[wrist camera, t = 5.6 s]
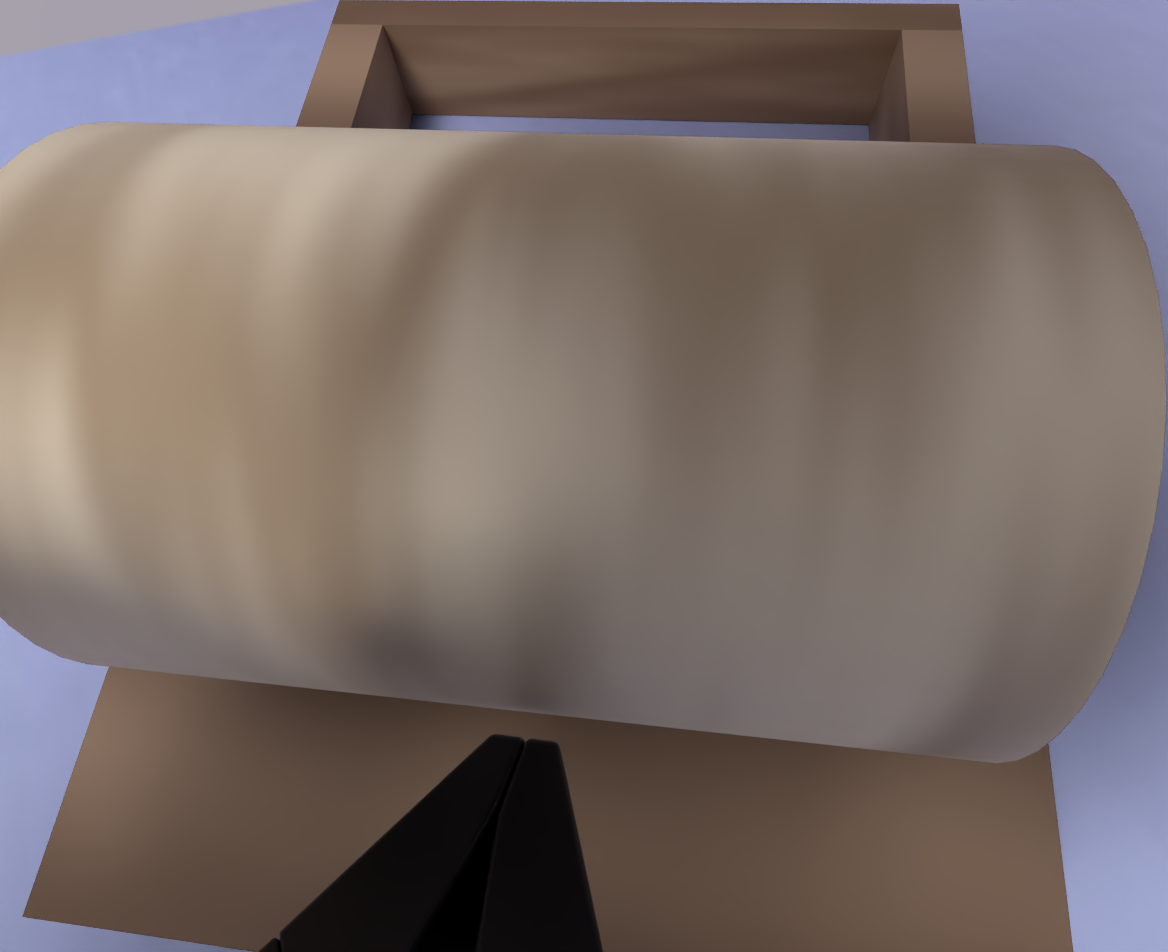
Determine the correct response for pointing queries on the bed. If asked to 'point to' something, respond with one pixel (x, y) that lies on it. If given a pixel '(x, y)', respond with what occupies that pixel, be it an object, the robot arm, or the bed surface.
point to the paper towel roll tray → (589, 747)
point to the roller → (584, 423)
